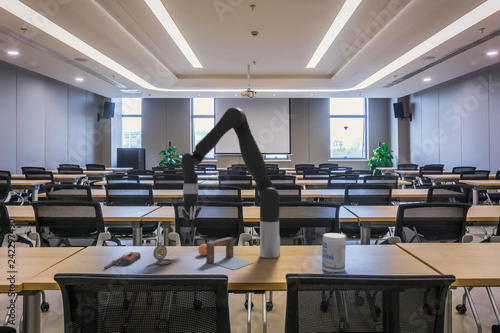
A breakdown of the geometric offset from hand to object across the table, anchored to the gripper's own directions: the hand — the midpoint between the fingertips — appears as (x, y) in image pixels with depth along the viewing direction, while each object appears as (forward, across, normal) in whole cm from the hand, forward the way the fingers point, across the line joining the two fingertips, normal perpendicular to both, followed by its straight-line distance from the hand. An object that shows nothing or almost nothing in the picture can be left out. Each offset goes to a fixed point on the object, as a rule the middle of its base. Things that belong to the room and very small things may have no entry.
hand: (190, 226), depth 172 cm
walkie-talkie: (+14, -32, +8) cm, 36 cm away
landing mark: (+13, 0, -30) cm, 33 cm away
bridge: (+13, 0, -22) cm, 25 cm away
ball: (+10, 0, -10) cm, 14 cm away
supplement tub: (+13, +22, -68) cm, 73 cm away
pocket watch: (+13, -20, -5) cm, 24 cm away
